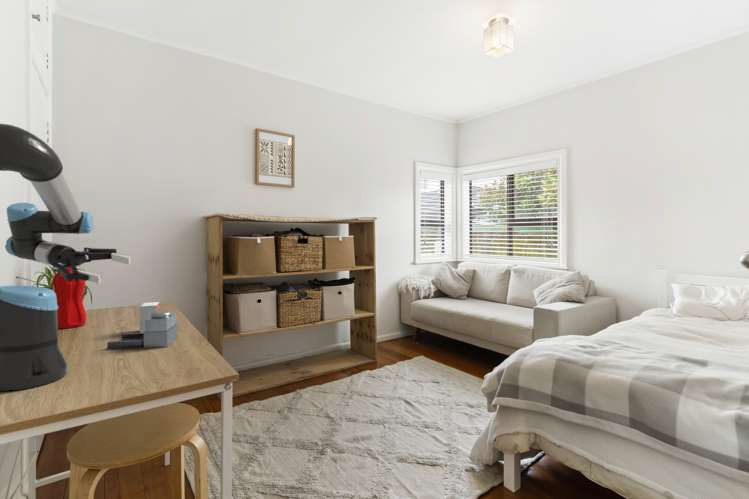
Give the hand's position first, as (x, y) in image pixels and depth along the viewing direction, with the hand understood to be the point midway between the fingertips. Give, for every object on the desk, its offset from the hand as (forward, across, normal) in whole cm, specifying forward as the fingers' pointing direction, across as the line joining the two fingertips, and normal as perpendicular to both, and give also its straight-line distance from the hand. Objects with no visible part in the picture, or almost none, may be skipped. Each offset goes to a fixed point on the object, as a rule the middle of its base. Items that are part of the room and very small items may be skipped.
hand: (115, 269), depth 130 cm
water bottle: (-27, -5, -36) cm, 45 cm away
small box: (+9, -3, -26) cm, 28 cm away
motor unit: (+16, +10, -19) cm, 27 cm away
